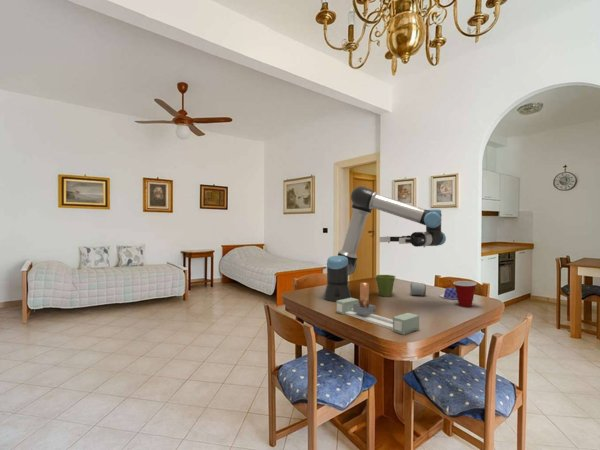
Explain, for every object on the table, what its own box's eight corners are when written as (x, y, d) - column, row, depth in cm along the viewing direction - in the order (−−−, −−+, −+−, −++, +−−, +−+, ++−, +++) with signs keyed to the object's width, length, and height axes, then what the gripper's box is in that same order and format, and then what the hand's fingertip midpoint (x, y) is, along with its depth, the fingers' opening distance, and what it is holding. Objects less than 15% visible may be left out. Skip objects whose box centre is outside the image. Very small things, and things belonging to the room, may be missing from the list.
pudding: (463, 301, 168) (463, 291, 168) (439, 299, 173) (439, 289, 173) (462, 296, 178) (462, 287, 178) (439, 294, 184) (439, 285, 184)
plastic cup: (448, 303, 163) (448, 280, 163) (468, 302, 163) (468, 280, 163) (460, 308, 152) (460, 284, 152) (481, 308, 153) (481, 284, 153)
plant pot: (391, 292, 187) (391, 274, 187) (398, 297, 175) (398, 277, 175) (372, 293, 186) (372, 274, 186) (378, 297, 174) (378, 278, 174)
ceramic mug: (426, 297, 176) (426, 283, 176) (411, 296, 178) (411, 282, 178) (424, 293, 186) (424, 280, 186) (409, 292, 188) (409, 280, 188)
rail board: (335, 312, 146) (335, 300, 146) (351, 308, 152) (351, 297, 152) (403, 335, 116) (403, 320, 116) (419, 329, 122) (419, 315, 122)
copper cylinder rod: (353, 311, 139) (353, 282, 139) (363, 308, 143) (363, 281, 143) (365, 315, 134) (365, 285, 134) (375, 312, 138) (375, 283, 138)
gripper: (441, 248, 148) (408, 249, 139) (402, 244, 171) (372, 246, 161) (441, 232, 148) (408, 233, 139) (402, 231, 171) (372, 231, 161)
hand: (389, 240), depth 150 cm, fingers open, 13 cm apart
